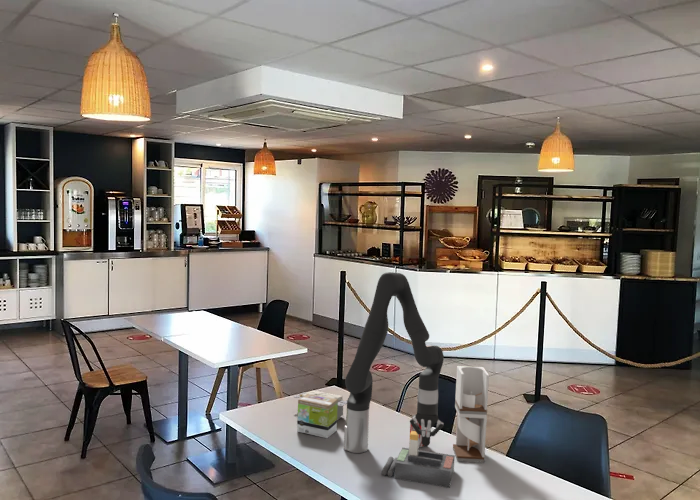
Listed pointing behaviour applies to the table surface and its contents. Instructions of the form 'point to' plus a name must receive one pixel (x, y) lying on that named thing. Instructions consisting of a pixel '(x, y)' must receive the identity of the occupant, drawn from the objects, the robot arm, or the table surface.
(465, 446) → the white tiered stand
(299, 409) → the tea box
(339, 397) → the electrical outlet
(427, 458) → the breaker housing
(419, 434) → the soda can
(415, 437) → the block
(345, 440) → the robot arm
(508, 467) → the table surface
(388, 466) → the cord bundle
